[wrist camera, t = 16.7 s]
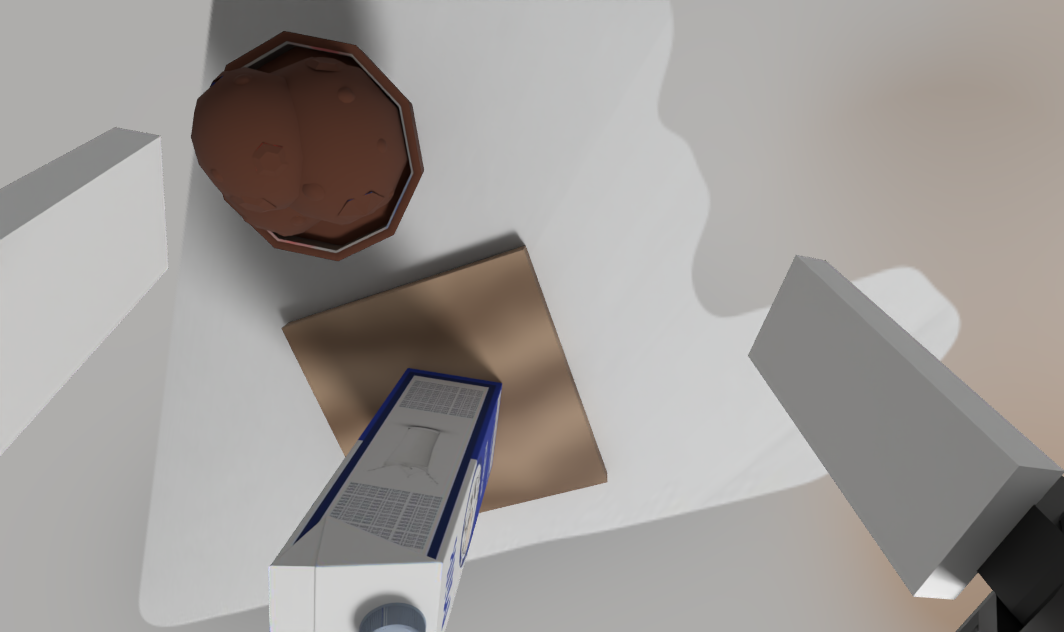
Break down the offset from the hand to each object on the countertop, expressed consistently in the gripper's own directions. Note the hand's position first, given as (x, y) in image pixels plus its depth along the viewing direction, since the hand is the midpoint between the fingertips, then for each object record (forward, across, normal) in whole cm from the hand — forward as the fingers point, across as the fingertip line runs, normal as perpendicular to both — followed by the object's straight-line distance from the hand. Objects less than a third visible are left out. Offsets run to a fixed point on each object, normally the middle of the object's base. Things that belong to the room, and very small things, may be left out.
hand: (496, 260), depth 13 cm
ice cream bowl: (+29, -5, -6) cm, 30 cm away
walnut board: (+25, +2, -23) cm, 34 cm away
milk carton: (+24, +3, -24) cm, 33 cm away
